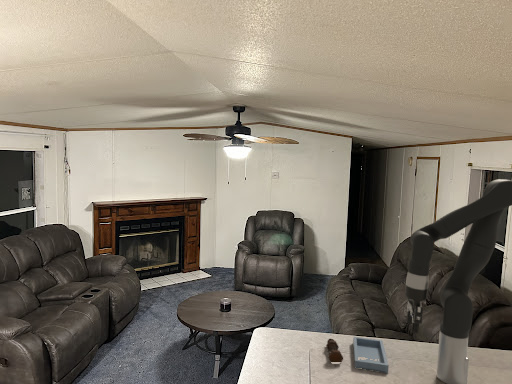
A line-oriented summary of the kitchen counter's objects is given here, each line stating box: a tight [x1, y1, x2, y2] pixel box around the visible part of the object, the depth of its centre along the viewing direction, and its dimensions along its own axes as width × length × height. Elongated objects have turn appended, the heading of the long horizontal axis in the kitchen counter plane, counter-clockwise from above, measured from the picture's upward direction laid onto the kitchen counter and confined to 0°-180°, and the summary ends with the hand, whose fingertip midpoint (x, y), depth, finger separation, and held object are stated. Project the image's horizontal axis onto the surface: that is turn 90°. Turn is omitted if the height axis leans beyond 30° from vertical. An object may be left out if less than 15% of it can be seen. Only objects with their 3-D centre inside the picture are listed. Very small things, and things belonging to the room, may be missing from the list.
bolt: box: [326, 338, 344, 363], centre depth 151 cm, size 6×5×15 cm
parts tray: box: [352, 336, 390, 374], centre depth 150 cm, size 12×21×3 cm, turn 167°
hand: (412, 327), depth 138 cm, fingers open, 8 cm apart
